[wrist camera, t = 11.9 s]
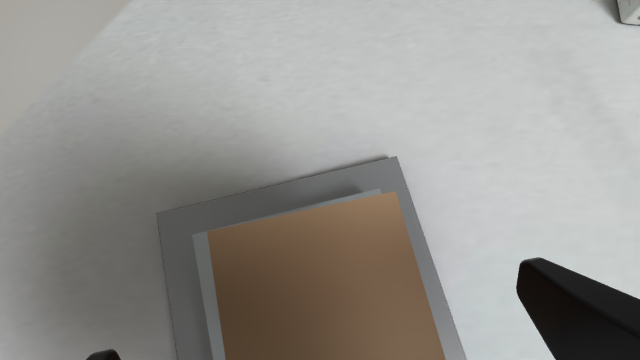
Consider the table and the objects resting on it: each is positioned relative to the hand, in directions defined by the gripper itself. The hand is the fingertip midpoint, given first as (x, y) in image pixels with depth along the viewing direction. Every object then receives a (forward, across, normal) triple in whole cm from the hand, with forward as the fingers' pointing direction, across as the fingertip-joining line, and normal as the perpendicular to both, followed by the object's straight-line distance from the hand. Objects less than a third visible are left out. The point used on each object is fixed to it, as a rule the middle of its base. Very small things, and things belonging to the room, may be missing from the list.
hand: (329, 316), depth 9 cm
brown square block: (+9, 0, +9) cm, 12 cm away
